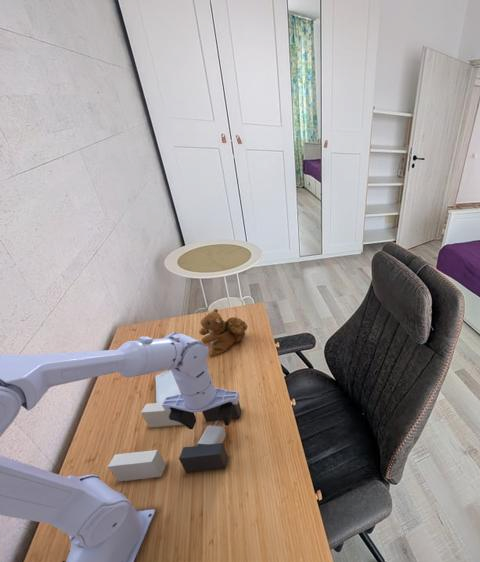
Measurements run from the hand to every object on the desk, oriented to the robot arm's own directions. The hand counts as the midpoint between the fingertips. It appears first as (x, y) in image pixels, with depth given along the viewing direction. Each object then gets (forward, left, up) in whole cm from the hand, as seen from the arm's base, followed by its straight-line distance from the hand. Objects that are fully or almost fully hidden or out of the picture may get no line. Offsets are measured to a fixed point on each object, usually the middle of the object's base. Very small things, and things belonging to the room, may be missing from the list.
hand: (211, 423), depth 65 cm
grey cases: (0, 0, -6) cm, 6 cm away
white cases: (0, +13, -6) cm, 14 cm away
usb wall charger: (0, 0, -6) cm, 6 cm away
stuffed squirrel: (+34, +7, -6) cm, 36 cm away
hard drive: (+16, +16, -6) cm, 24 cm away
